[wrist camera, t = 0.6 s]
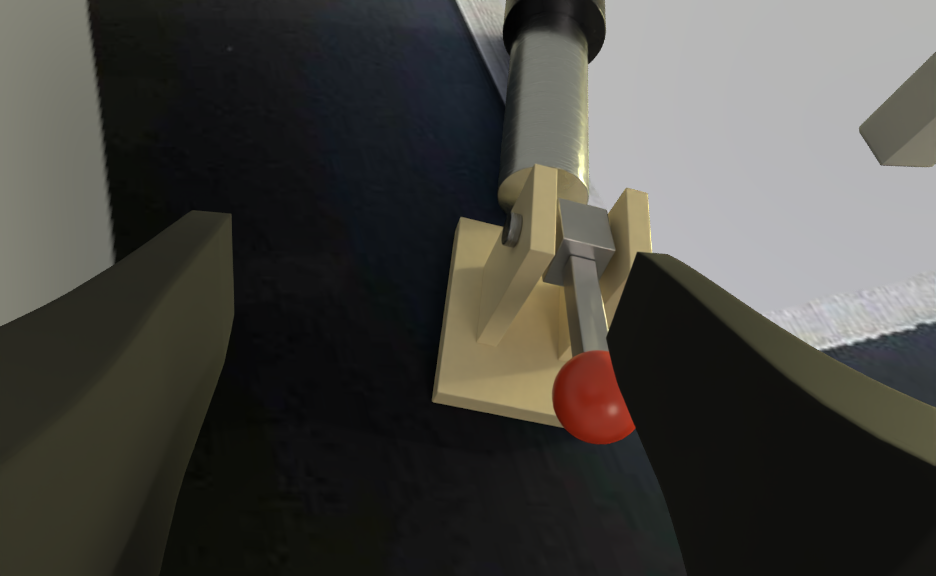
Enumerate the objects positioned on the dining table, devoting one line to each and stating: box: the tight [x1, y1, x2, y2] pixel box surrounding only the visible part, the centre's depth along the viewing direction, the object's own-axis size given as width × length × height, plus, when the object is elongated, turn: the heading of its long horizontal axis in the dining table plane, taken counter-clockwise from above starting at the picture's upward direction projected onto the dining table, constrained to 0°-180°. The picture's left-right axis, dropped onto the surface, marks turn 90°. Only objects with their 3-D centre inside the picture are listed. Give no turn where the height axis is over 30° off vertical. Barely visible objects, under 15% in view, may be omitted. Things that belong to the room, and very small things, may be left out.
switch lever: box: [542, 198, 635, 444], centre depth 24 cm, size 11×3×3 cm, turn 174°
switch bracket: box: [432, 164, 652, 428], centre depth 29 cm, size 10×8×9 cm
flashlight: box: [497, 0, 606, 216], centre depth 39 cm, size 17×6×6 cm, turn 175°
